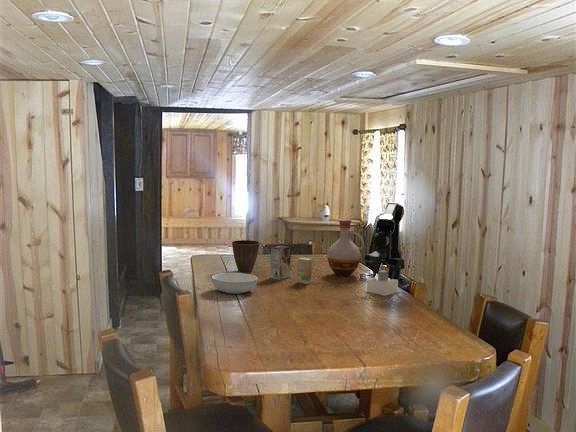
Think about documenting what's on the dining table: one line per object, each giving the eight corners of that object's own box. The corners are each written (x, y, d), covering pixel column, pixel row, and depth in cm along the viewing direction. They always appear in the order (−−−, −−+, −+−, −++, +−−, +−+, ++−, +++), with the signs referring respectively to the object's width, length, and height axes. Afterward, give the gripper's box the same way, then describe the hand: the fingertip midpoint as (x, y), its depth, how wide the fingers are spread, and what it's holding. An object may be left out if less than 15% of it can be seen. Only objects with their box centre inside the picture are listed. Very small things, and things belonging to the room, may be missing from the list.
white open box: (379, 288, 261) (380, 268, 260) (397, 292, 254) (398, 271, 253) (366, 292, 253) (367, 270, 252) (385, 296, 246) (386, 274, 245)
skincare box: (296, 282, 269) (297, 258, 268) (300, 281, 273) (301, 257, 272) (308, 284, 266) (308, 259, 265) (311, 282, 270) (312, 258, 269)
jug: (362, 272, 299) (364, 218, 296) (363, 279, 281) (366, 222, 278) (326, 271, 301) (328, 217, 298) (325, 277, 283) (328, 220, 280)
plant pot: (257, 274, 285) (258, 244, 284) (229, 273, 286) (230, 243, 284) (259, 269, 300) (260, 240, 299) (233, 268, 301) (233, 239, 299)
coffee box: (280, 275, 285) (281, 245, 284) (290, 277, 282) (291, 246, 280) (269, 278, 278) (270, 247, 277) (279, 279, 274) (280, 248, 273)
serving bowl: (250, 298, 235) (250, 283, 234) (204, 295, 239) (204, 279, 238) (262, 288, 255) (262, 274, 254) (219, 285, 259) (220, 271, 258)
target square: (379, 288, 262) (379, 287, 262) (400, 292, 254) (400, 292, 254) (364, 291, 254) (364, 291, 253) (385, 296, 245) (385, 296, 245)
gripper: (357, 243, 252) (356, 276, 254) (391, 249, 239) (390, 283, 241) (371, 241, 260) (370, 273, 262) (405, 246, 247) (403, 280, 249)
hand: (382, 277), depth 253 cm, fingers open, 9 cm apart
